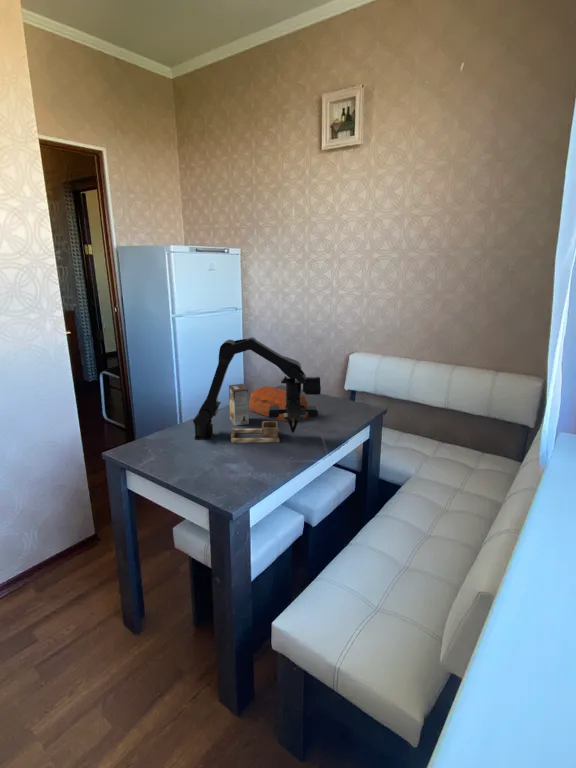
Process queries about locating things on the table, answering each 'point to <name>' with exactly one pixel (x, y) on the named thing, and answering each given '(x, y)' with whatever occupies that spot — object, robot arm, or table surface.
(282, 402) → the bread
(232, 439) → the beige cubby shelf
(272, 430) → the crate
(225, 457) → the table surface
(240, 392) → the coffee box
